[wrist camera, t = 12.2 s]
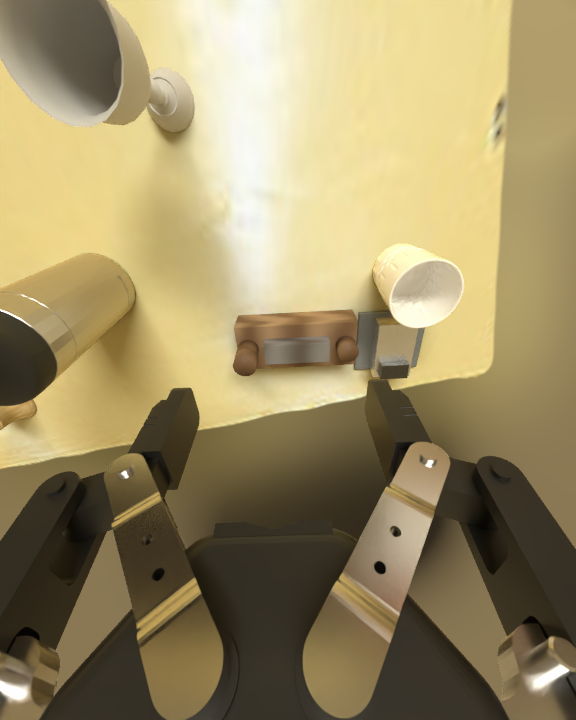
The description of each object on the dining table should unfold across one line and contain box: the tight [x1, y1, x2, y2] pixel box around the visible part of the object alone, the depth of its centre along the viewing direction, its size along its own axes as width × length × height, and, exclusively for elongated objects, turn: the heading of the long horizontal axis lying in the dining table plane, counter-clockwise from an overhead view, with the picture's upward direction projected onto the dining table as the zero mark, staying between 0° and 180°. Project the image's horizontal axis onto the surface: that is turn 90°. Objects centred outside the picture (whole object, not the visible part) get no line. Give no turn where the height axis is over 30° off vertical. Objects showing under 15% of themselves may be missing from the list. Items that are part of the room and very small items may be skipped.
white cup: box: [373, 244, 464, 328], centre depth 36 cm, size 8×8×10 cm
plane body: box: [233, 310, 359, 376], centre depth 42 cm, size 17×7×8 cm, turn 93°
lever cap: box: [369, 315, 419, 379], centre depth 44 cm, size 9×6×4 cm, turn 4°
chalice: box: [0, 0, 194, 132], centre depth 23 cm, size 7×7×18 cm
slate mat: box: [354, 311, 425, 370], centre depth 46 cm, size 10×10×1 cm
